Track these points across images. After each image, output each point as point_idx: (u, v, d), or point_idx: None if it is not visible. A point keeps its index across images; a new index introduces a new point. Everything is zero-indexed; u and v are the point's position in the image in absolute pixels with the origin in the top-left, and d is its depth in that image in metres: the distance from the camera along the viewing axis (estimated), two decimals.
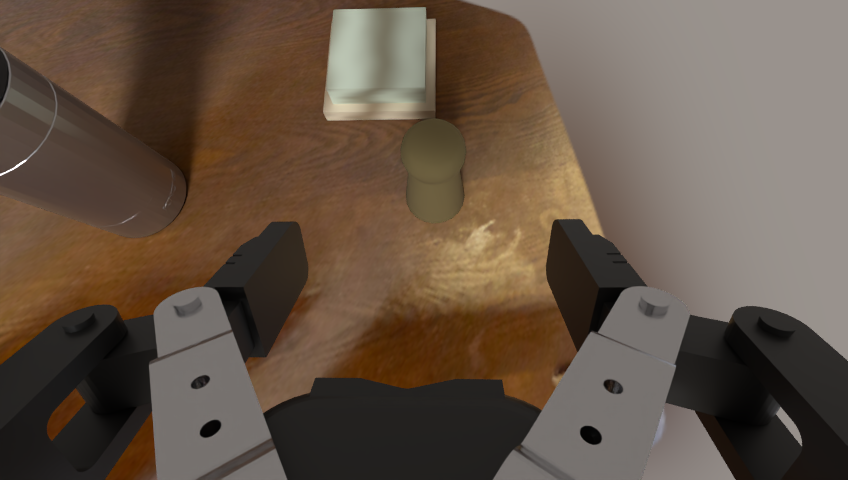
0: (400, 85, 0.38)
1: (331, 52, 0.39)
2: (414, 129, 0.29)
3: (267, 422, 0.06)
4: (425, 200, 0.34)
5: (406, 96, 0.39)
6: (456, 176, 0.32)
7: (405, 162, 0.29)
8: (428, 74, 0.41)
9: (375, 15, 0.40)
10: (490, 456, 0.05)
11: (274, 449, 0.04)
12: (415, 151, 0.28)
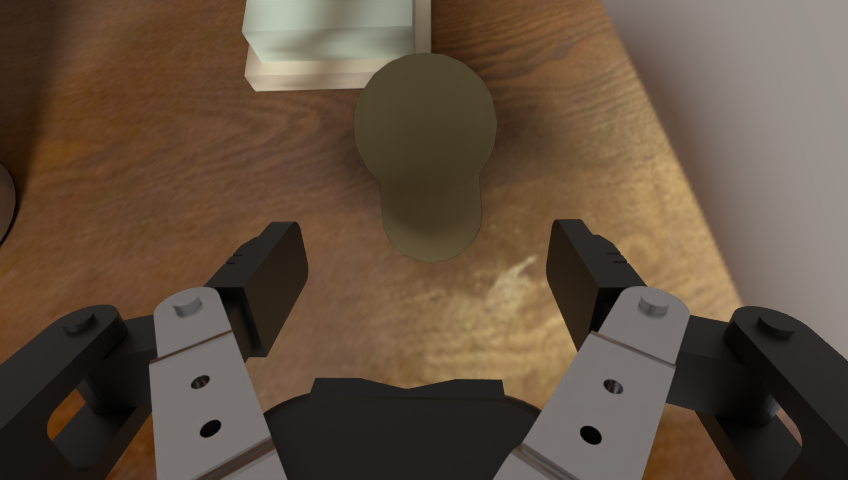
0: (369, 23, 0.22)
1: None
2: (381, 76, 0.13)
3: (267, 422, 0.06)
4: (412, 227, 0.18)
5: (381, 45, 0.23)
6: (473, 181, 0.16)
7: (362, 150, 0.13)
8: (419, 13, 0.25)
9: None
10: (490, 456, 0.05)
11: (274, 449, 0.04)
12: (382, 124, 0.12)
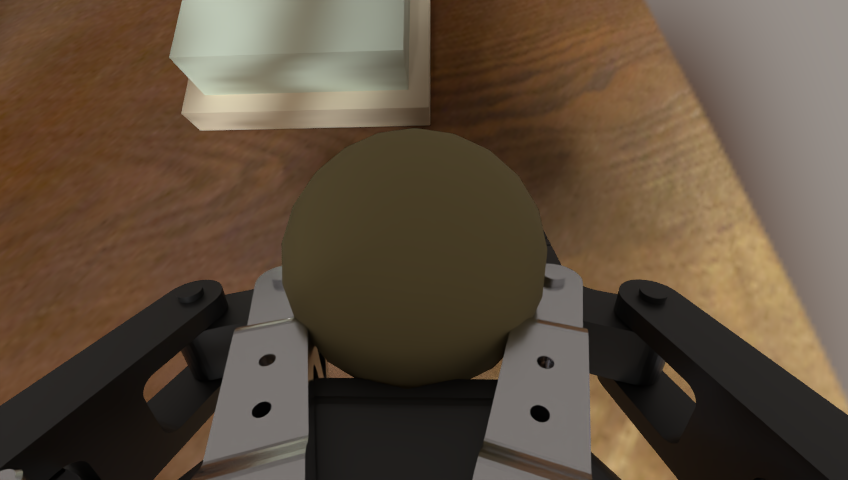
0: (343, 46, 0.16)
1: None
2: (330, 179, 0.07)
3: (316, 415, 0.06)
4: None
5: (362, 75, 0.17)
6: None
7: (294, 316, 0.07)
8: (414, 29, 0.19)
9: None
10: None
11: (304, 452, 0.04)
12: (326, 284, 0.06)
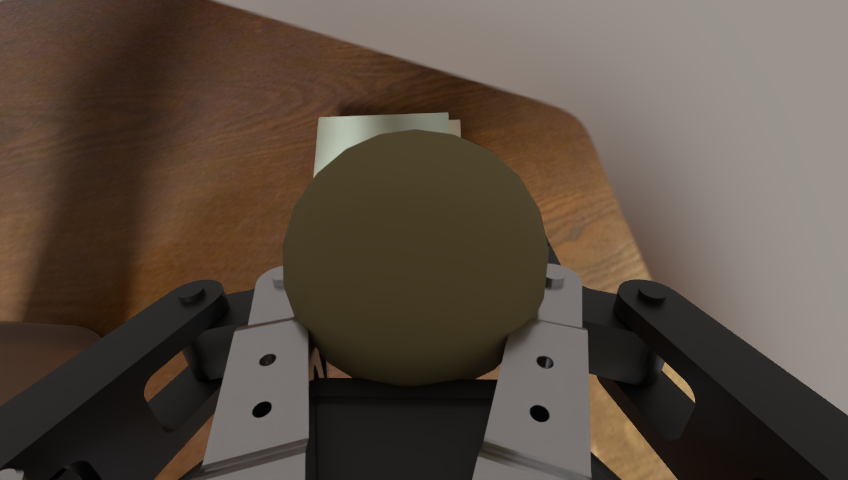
0: None
1: None
2: (330, 180, 0.07)
3: (317, 415, 0.06)
4: None
5: None
6: None
7: None
8: None
9: (378, 125, 0.29)
10: None
11: (304, 452, 0.04)
12: (327, 286, 0.06)
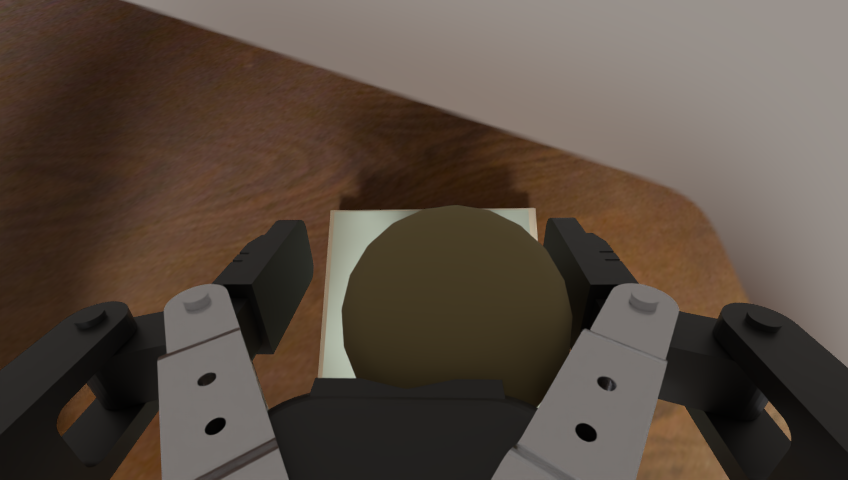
0: None
1: (330, 319, 0.18)
2: (386, 258, 0.08)
3: (272, 421, 0.06)
4: None
5: None
6: None
7: (355, 375, 0.08)
8: None
9: None
10: (490, 456, 0.05)
11: (277, 449, 0.04)
12: (388, 354, 0.07)
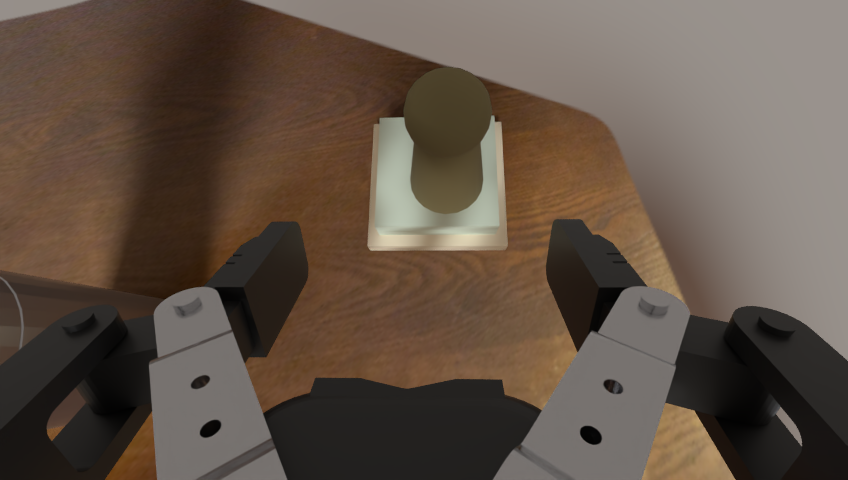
0: (467, 222, 0.30)
1: (379, 175, 0.32)
2: (422, 81, 0.21)
3: (267, 422, 0.06)
4: (435, 183, 0.26)
5: (473, 230, 0.31)
6: (477, 149, 0.25)
7: (410, 125, 0.21)
8: None
9: None
10: (490, 456, 0.05)
11: (274, 449, 0.04)
12: (423, 109, 0.21)
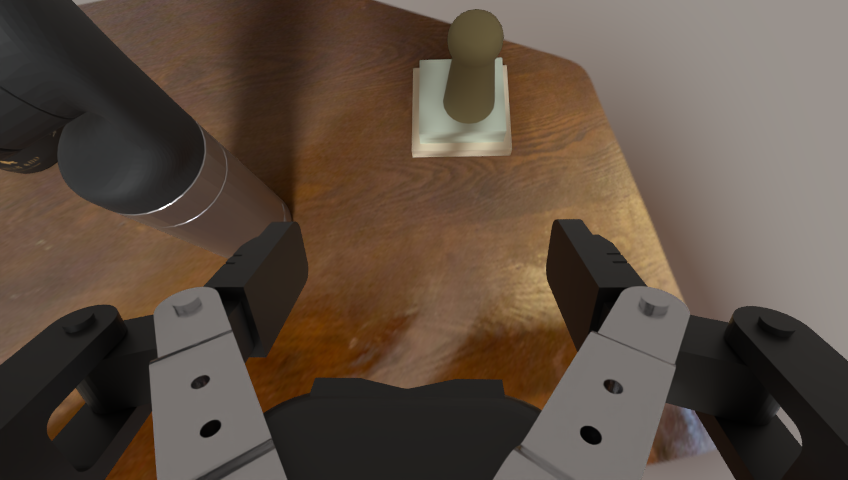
0: (484, 129, 0.43)
1: (420, 99, 0.45)
2: (460, 17, 0.34)
3: (267, 422, 0.06)
4: (464, 93, 0.39)
5: (487, 137, 0.44)
6: (492, 67, 0.38)
7: (453, 45, 0.34)
8: None
9: None
10: (490, 456, 0.05)
11: (274, 448, 0.04)
12: (462, 33, 0.34)
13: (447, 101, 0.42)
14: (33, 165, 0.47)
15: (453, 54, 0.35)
